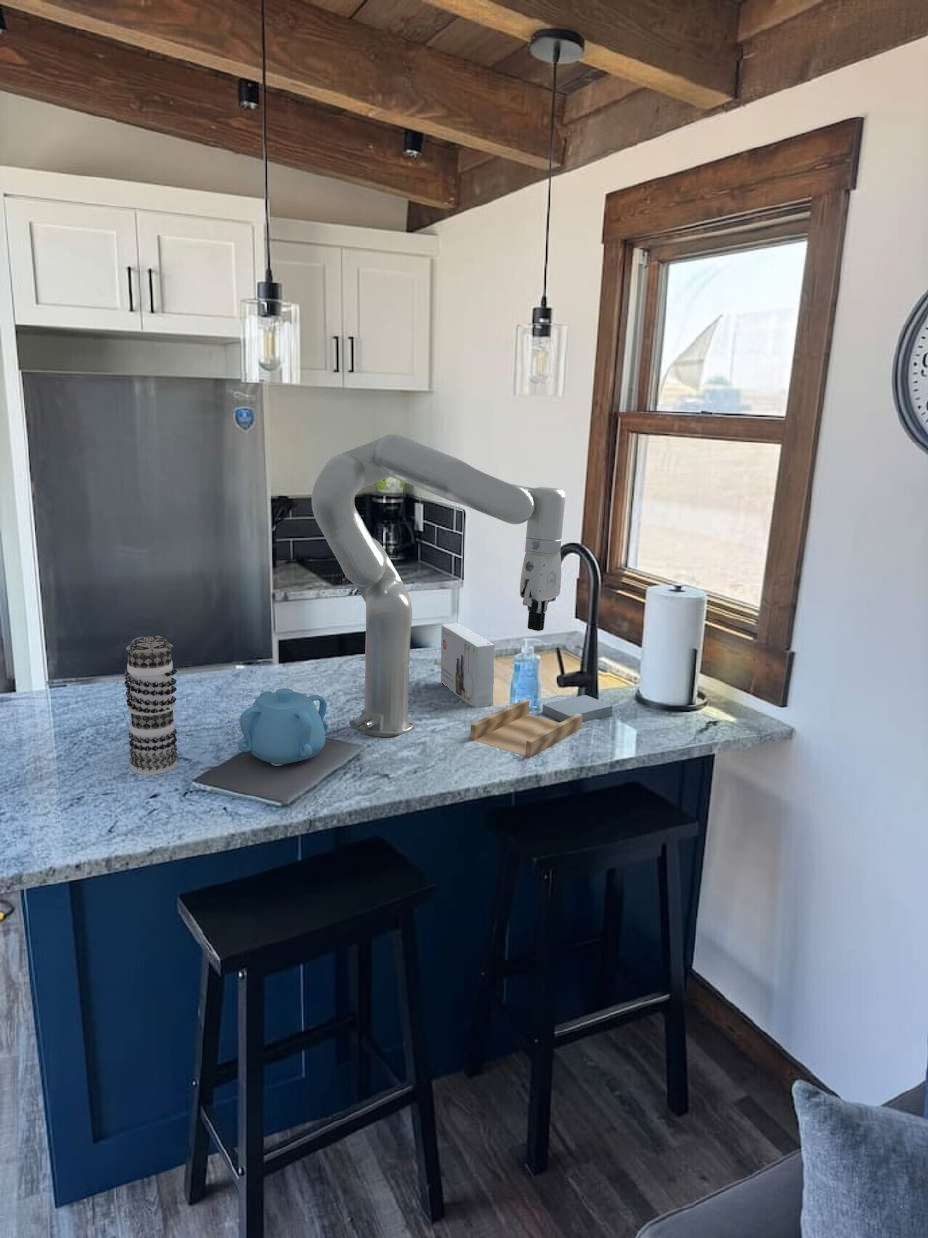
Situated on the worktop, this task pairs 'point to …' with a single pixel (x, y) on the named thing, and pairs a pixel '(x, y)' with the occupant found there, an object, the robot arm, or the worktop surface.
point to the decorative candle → (151, 705)
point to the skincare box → (467, 664)
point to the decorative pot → (283, 727)
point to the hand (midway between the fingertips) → (535, 629)
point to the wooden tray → (522, 730)
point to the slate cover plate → (578, 708)
